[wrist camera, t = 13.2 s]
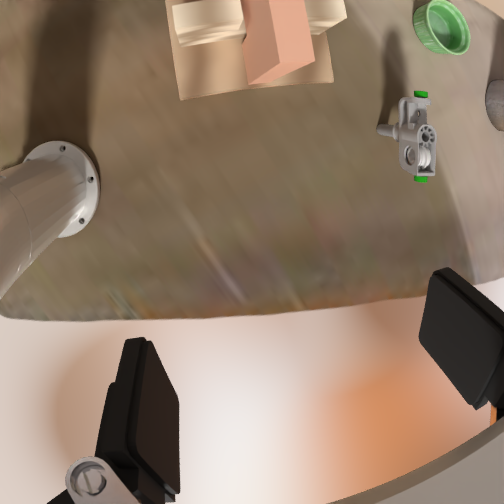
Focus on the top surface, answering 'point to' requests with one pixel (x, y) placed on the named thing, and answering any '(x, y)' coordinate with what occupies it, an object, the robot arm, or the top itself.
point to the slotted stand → (237, 46)
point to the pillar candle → (496, 103)
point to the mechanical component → (414, 136)
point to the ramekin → (442, 28)
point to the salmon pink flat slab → (275, 38)
